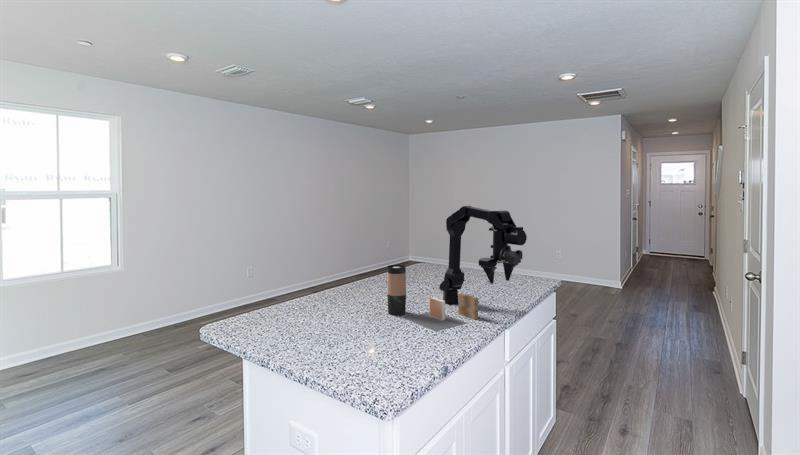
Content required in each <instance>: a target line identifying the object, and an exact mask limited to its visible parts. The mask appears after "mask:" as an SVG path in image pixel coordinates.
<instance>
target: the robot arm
mask: <svg viewBox="0 0 800 455" xmlns="http://www.w3.org/2000/svg"><path fill="white" fill-rule="evenodd" d="M471 218H474V219H478V220H479V219H480V220H483V221H486V222H487V223H488V224H490V225H491V226H490V228H488V231H490V232H492V244H491V245H490V249H492V254H491V255H490V256H489V257H481V258H479V259H478V266H480V268H482V269H483V272H484V273H485V275H486V277H487V279H488V281H489V284H491V285H493V284H494V283H495V282H494V280H495V271H496V270H497V268H498V267H497V265H498V264H501V263H502V265H503V270H504V272H503V273H504V276H505V277H504V278H505V281H507V282H509V281H510V279H511V276H512V273H513V271H514V269H515V268H516V267H517V266H519V264H520V263H522V260H523V257H524V256H523V255H524V254H523V251H522V250H520V249H517V250H512V248H511V245H516V246H524V245H525V244H526V242H527V240H528V238H527V233H526V231H525V230H524V227H523V226H518V227H517V225H516V223H515V222H514V220H513V218H512V215H511V213H510V211H508V210H490V209H483V208H480V207H474V206H472V205H463V206H461V207H460V208H459V209H458V210H457V211H455V212H453V213H452V214H450V216H448V217H447V218H446V221H445V225H446V231H447V233H448V235H449V246H448V247H449V249H448V268H447V269H446V271H445V273H444V278H443V280H442V281H441V283H440V284H439V286H438V287H439V291H442V292H443V293H442V296H443V298H442V300H444V301H445V305H449V306H452V305H458V294H459V291H458V290H462V287H463V285H464V282H465V275H466V274H465V272H464V271H462V269H461V252H462V251H461V249H462V248H461V246H462V235H463V234H464V232H465V230H466V225H467V223H468V222H469V221H470V219H471Z"/></svg>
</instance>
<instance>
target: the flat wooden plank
mask: <svg viewBox="0 0 800 455" xmlns="http://www.w3.org/2000/svg"><path fill="white" fill-rule="evenodd" d="M457 305H458V306H457V307H458V309H457V310H458V313H457V314H458V315H459V316H461V317H462V316H463V317H466V318H468V319H471V320H474V321H476V320H478V319H479V297H477V296H474V295H469V294H466V293H463V292H461V293H458V304H457Z"/></svg>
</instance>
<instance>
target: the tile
mask: <svg viewBox="0 0 800 455" xmlns="http://www.w3.org/2000/svg"><path fill="white" fill-rule="evenodd" d="M429 312H430V316H431V317H434V318H437V319H439V320H445V315H446V304H445V301H444V300H443V299H440V298H437V297H433V296H432V297H429Z"/></svg>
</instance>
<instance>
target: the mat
mask: <svg viewBox="0 0 800 455" xmlns="http://www.w3.org/2000/svg"><path fill="white" fill-rule="evenodd" d="M403 319H404V320H405V321H406V320H407V321H409V322H412V323H414V324H416V325H418V326H422V327H423V328H426V329H429V330H431V331H433V332H439V331H443V330H446V329H447V330H448V329H452V328H455V327H459V326H463V325H467V324H468V322H466V321H463V320H460V319H458V318H455V317H451V316H448V315H447V314H445V320H439V319H437V318H434V317H431V316H430V311H427V312H424V313H419V314H415V315H411V316H406V317H403Z"/></svg>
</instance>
